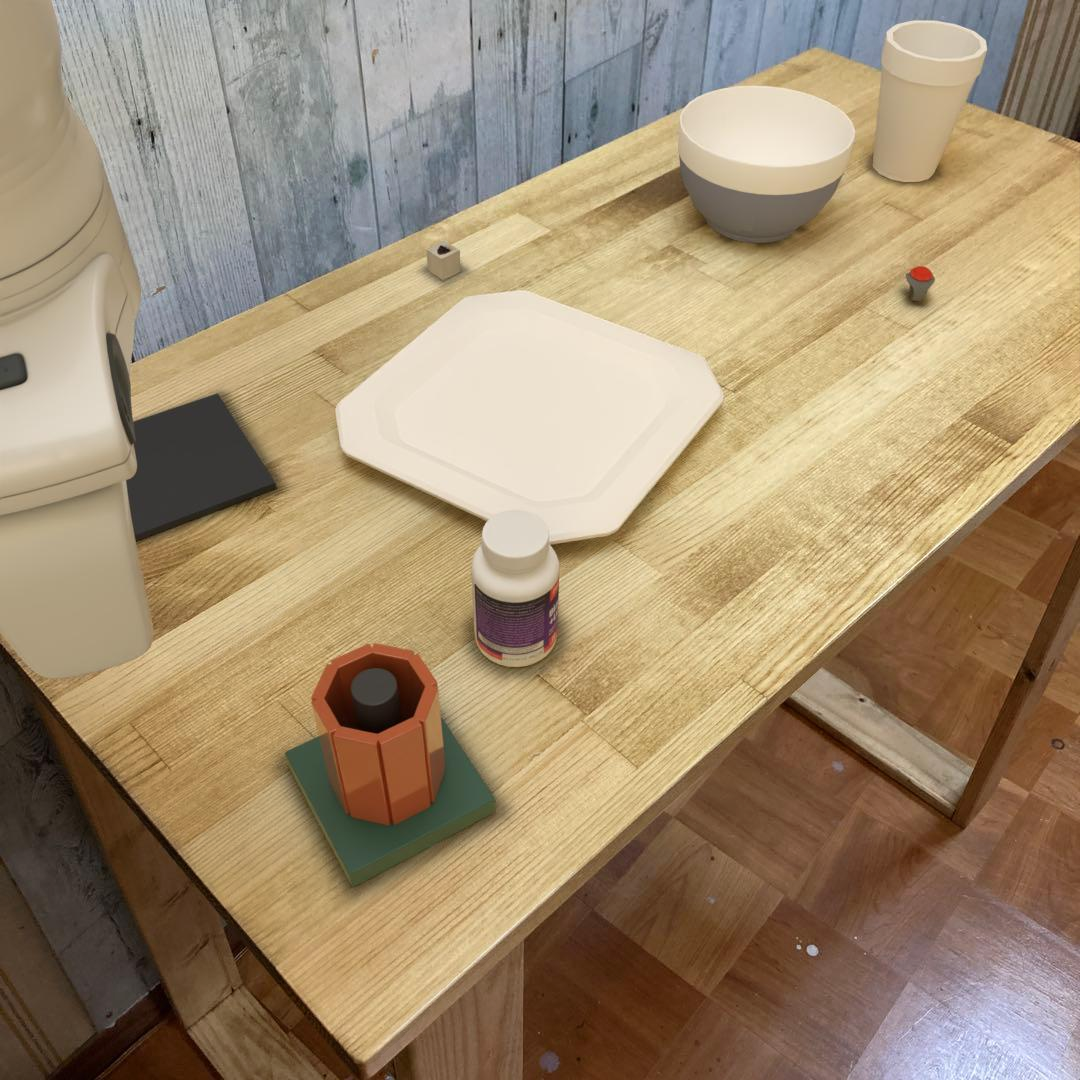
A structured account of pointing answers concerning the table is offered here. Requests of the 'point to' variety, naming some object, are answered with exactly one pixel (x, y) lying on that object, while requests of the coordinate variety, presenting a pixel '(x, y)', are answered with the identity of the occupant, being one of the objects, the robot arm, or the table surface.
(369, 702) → the post stand
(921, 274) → the ring
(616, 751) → the table surface
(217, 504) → the mat
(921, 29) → the foam cup
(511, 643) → the pill bottle
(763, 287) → the table surface
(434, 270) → the cube with dark pebbles
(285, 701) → the table surface
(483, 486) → the plate
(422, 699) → the orange hollow octagonal tube
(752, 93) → the bowl
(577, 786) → the table surface
